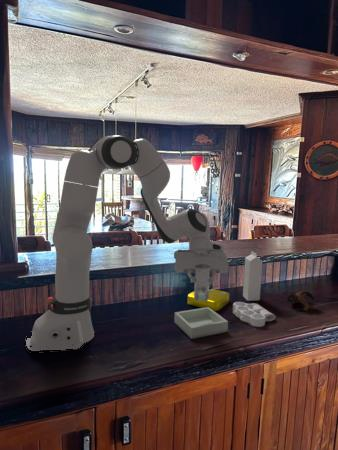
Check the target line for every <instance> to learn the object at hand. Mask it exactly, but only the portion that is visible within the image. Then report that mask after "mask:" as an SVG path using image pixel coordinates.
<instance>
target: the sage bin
mask: <svg viewBox="0 0 338 450" xmlns="http://www.w3.org/2000/svg"><path fill="white" fill-rule="evenodd" d="M174 323H175V325H176V326H177V327H178V328H179V329H180V330H181V331H182V332H184V334H186V335H187V337H189V339H191V340H192V339H193V340H194V339H197V338H203V337H208V336H213V335H219V334H223V333H228V330H229V329H228V328H229V321H228V320H227V319H225V318H224V317H222V316H221V315H220V314H219V313H217V312H216V311H213V310H212V309H210V308H209V307H206V308H201V307H199V308H195V309H189V310H182V311H176V312H174Z"/></svg>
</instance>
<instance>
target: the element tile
mask: <svg viewBox="0 0 338 450" xmlns="http://www.w3.org/2000/svg"><path fill="white" fill-rule="evenodd" d="M186 302H187V305H190V306H194V307H198V308H206V307H209V308H210V309H212V310H213V311H214V312H216V311H217V312H218V311H219V310H221V309H222V308H223V307H225V306H226V305H227V304H229V302H230V293H229V292H227V291H224V290H219V289H215V288H211V290H210V289H209V300H207V301H198V300H195V299H194V291H192V292H190V293H188V294H187V301H186Z"/></svg>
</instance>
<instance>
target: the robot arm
mask: <svg viewBox="0 0 338 450" xmlns="http://www.w3.org/2000/svg"><path fill="white" fill-rule="evenodd" d="M127 167H129V168H131V170H132V171H133V172H134V174H135V175H136V177H137V178H138V179H139V182H140V185H141V188H140V197H141V199H142V201H143V204H144V206H145V208H146V210H147V212H148V214H149V215H150V218H151V219H152V222H153V224H154V225H155V228H156V231H157V234H158V236H159V238H160V239H161V241H163V242H165V243H167V244H173V243H175V242H177V241H179V240H181V239H183V238H186V237H189V241H188V249H177V250H175V251H174V253H173V259H174V260H175V261H174V271H175V272H176V273H187V276H188V278H189V279H190V283H191V284H195V276H193V275H192V274H195V266H196V265H199V264H205V265H208V266H210V274H211V276H210V284H214V282H215V277H216V274H226V273H227V272H228V271H229V269H230V267H229V260H228V257H227V254H226V252H224V250H225V248H224V246H223V245H221V244H218V243H214V242H212V241H211V227H210V222H209V219H208V217H207V215H206V214H204V213H202V212H200V211H198V210H197V209H194V208H187V209H184V210H182V211H180V212H178V213H177V214H173V215H172V216H167V215H165V213H164V211H163V209H162V207H161V205H160V203H159V199H158V197H159V195H161V194H162V192H163V191H164V190H165V189H166V187H167V186H168V184H169V181H170V179H171V171H170V168H169V167H168V165H167V163H166V162H165V160H164V159H163V157H162V155H161V154H160V152H159V151H158V150H157V149H156V148H155V147H154V145H153V144H151V143H150V142H149V140H147V139H146V138H138V139H134V140H131V139H129V138H127V137H125V136H123V135H120V134H114V135H106V136H103V137H101V138H99V139H97V140H96V141H94V143H93V144H92V145H91V147H90V148H89V149H88V150H87V149H80V150H79V149H78V150H76V151H74V152H73V153H72V154H71V156H70V158H69V161H68V163H67V165H66V170H65V174H64V181H63V184H62V189H61V190H62V191H61V196H60V197H61V198H60V204H59V207H58V212H57V215H56V219H55V223H54V229H53V232H52V238H51V239H52V244H53V246H54V248H55V253H56V256H55V257H56V258H55V275H54V280H55V281H54V285H55V297H54V298H53V296H49V297H47V299H46V301H47V304H48V305H49V307H48V308H49V309H48V310H47V311H46V312H45V313H43V314H42V315H40V317H38V318H37V319H36V320H34V321H35V322H34V324H33V326H32V331H31V332H32V336H31V338H27V340H26V339H25V341H26V345H25V347H26V346H27V348H28V349H29V350H31V351H40V350H41V351H42V350H61V351H67V350H66V349H73V350H79V349H81V348H82V347H83V346H84V345H85V344H87V343H88V342H90V341H92V339H93V338H94V337H95V335H94V333H95V330H94V327H93V323H92V317H91V310H92V297H91V295H90V269H91V263H92V262H91V261H92V252H93V241H92V239H91V236H90V235H89V233H88V229H89V226H90V222H91V220H92V216H93V214H94V212H95V209H96V208H95V207H96V202H97V196H98V191H99V186H100V185H99V184H100V178H101V175H102V173H103V172H104V170H121V169H126V168H127ZM86 342H87V343H86ZM84 343H85V344H84ZM83 344H84V345H83ZM82 345H83V346H82ZM30 346H32V347H30ZM81 346H82V347H81ZM80 347H81V348H80ZM27 348H26V349H27ZM78 348H79V349H78Z"/></svg>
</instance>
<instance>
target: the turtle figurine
mask: <svg viewBox="0 0 338 450" xmlns="http://www.w3.org/2000/svg"><path fill="white" fill-rule="evenodd" d="M303 294H305V295H306V297H308V298H310V299H311V301H307V299H305V298H304V297H303ZM285 299H286V301H287V302H288V303H290V305H291V306H294V304H295V303H298V304H300V303H301V304H303V305H304V307H303V309H302V310H303V311H305V312H306V311H308V310H310V309H312V308H314V307H315V303H316V298H315V296H314V295H313V294H312V293H311V292H309V291H307V290H300V291H299V292H296V293H295V294H294V293H288V294H286V297H285Z"/></svg>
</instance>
